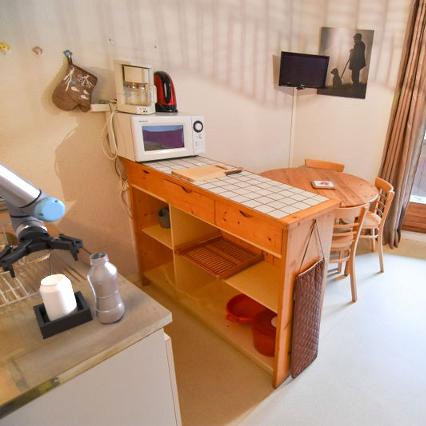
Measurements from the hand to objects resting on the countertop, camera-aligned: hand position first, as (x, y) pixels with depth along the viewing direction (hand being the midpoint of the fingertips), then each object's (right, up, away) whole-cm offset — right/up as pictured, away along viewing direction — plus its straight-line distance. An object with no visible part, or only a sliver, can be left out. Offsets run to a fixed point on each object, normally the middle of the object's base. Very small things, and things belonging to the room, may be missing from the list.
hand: (45, 264), depth 87 cm
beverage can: (+6, -14, -1) cm, 15 cm away
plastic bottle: (+18, -15, +1) cm, 23 cm away
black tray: (+6, -15, -1) cm, 16 cm away
